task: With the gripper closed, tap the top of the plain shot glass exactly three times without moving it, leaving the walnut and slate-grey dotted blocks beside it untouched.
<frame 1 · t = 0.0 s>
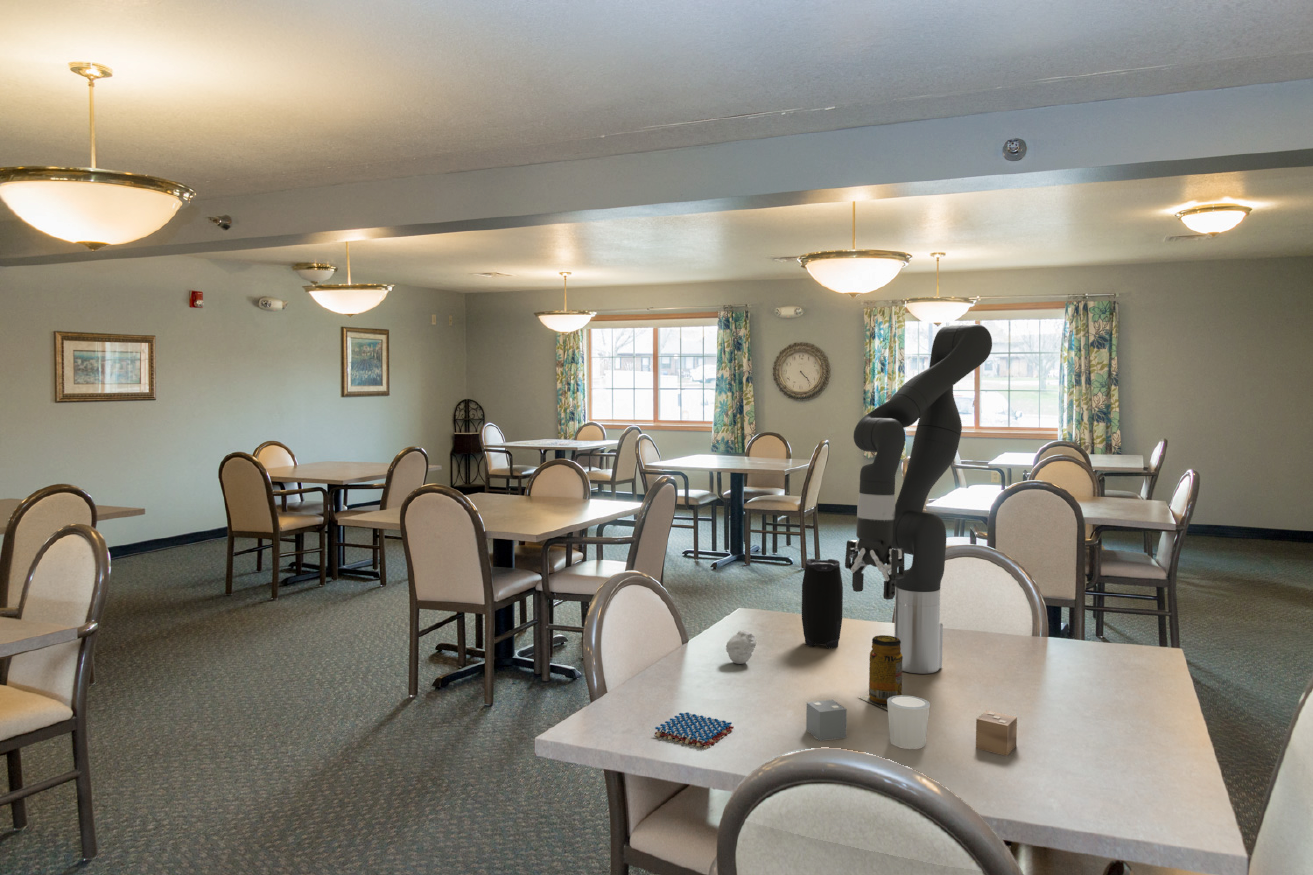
hand: (872, 595, 184), 17 cm above the table, tool pointing down, fingers open, 8 cm apart
portable speaker: (821, 645, 209), on the table
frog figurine: (740, 664, 194), on the table
walnut dotted block: (996, 747, 148), on the table
condiment: (887, 703, 170), on the table
woven mat: (694, 737, 154), on the table
shot glass: (907, 743, 150), on the table
slate dotted block: (826, 734, 154), on the table
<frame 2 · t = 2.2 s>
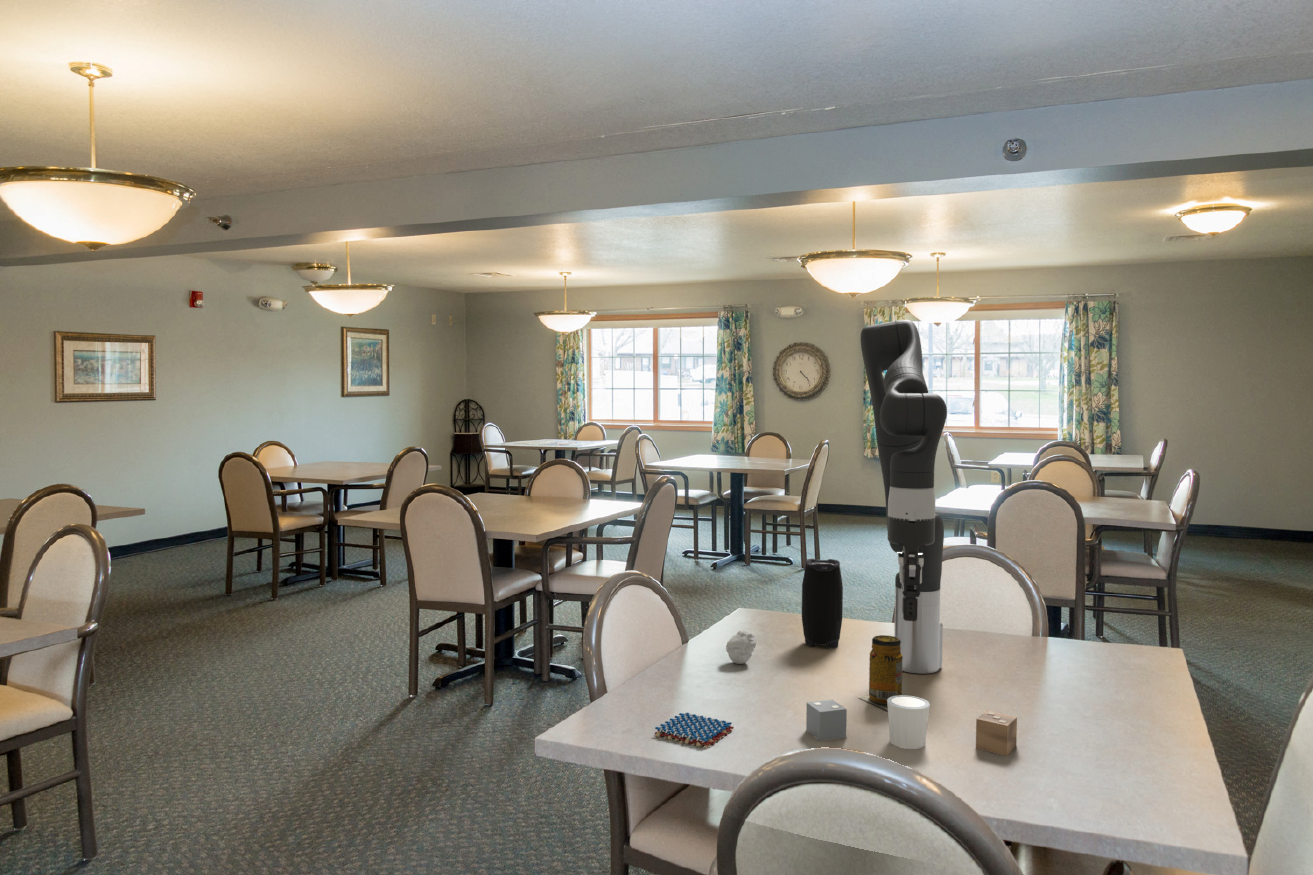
hand: (909, 617, 149), 21 cm above the table, tool pointing down, fingers open, 3 cm apart
nothing on the table moved.
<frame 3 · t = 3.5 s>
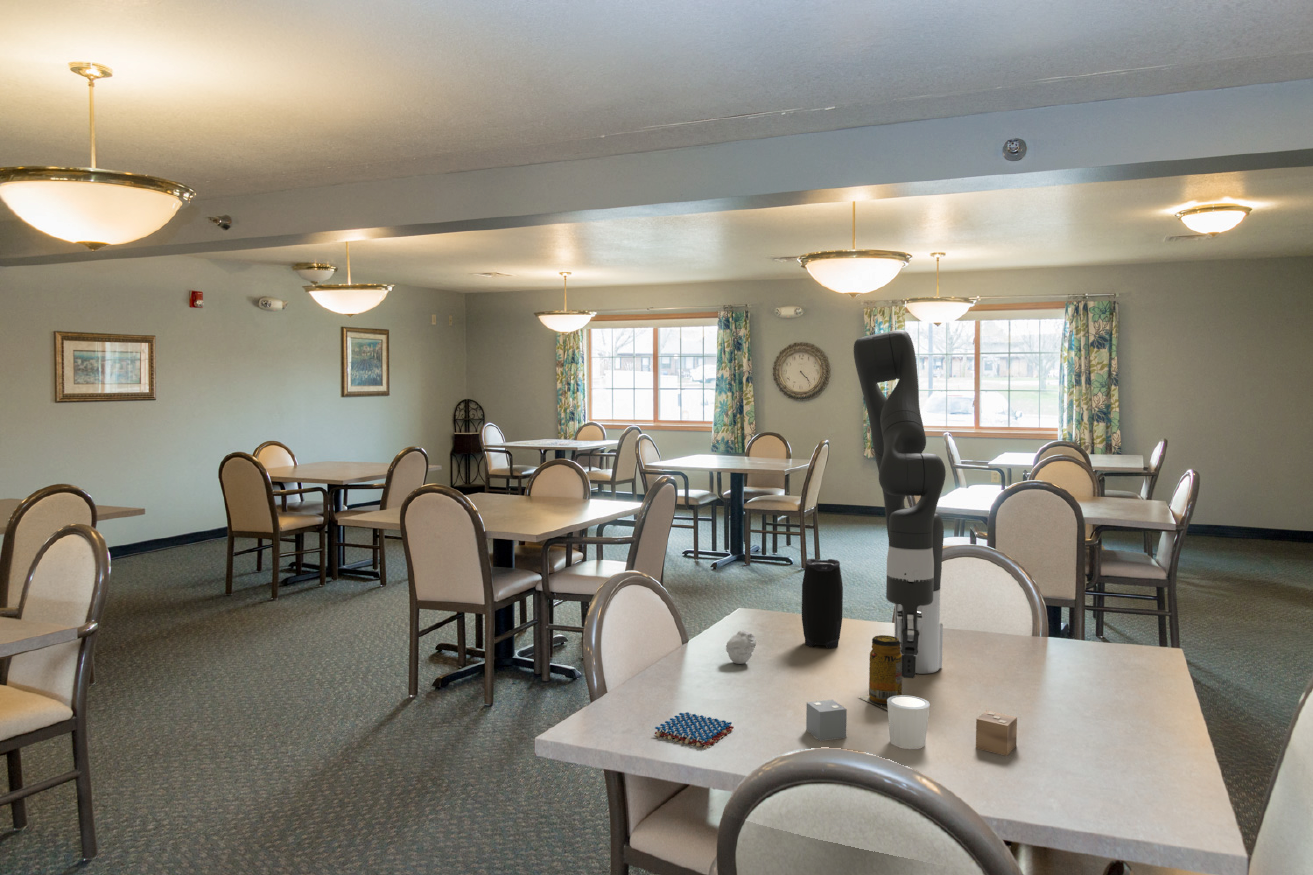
hand: (908, 676, 150), 11 cm above the table, tool pointing down, fingers closed
nothing on the table moved.
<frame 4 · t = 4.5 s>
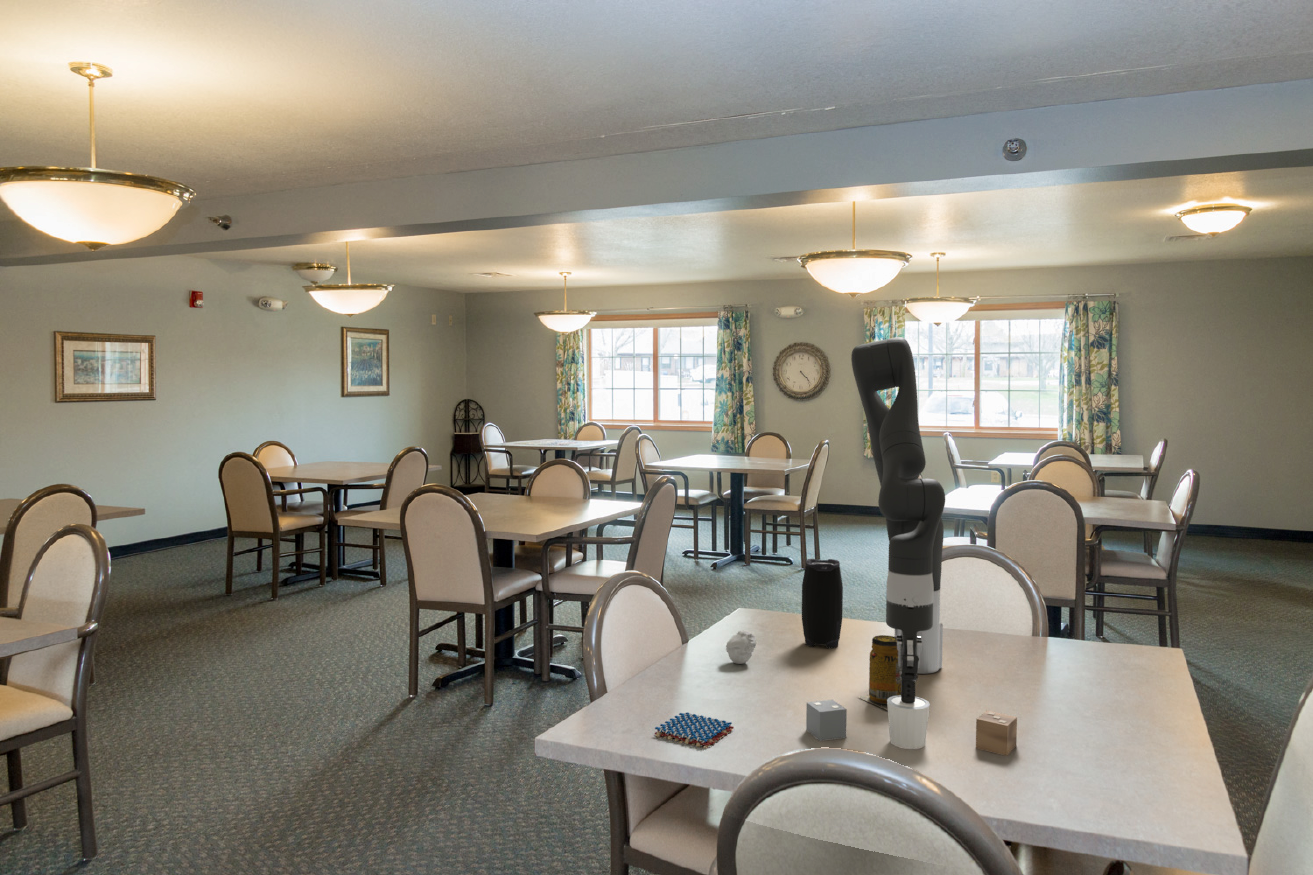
hand: (907, 701, 150), 7 cm above the table, tool pointing down, fingers closed
shot glass: (907, 743, 150), on the table, touching gripper
everything else where it was.
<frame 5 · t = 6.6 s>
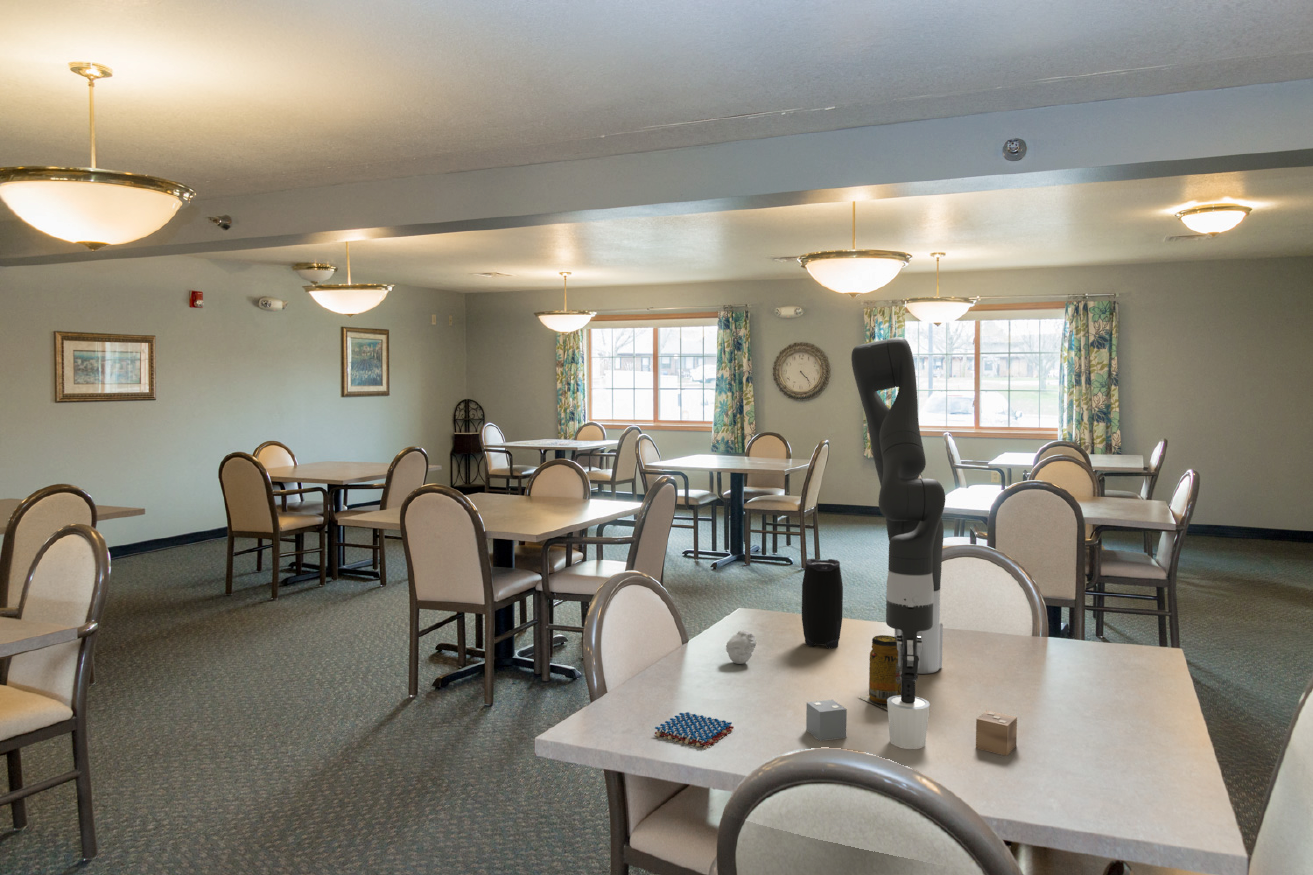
hand: (907, 701, 150), 7 cm above the table, tool pointing down, fingers closed
nothing on the table moved.
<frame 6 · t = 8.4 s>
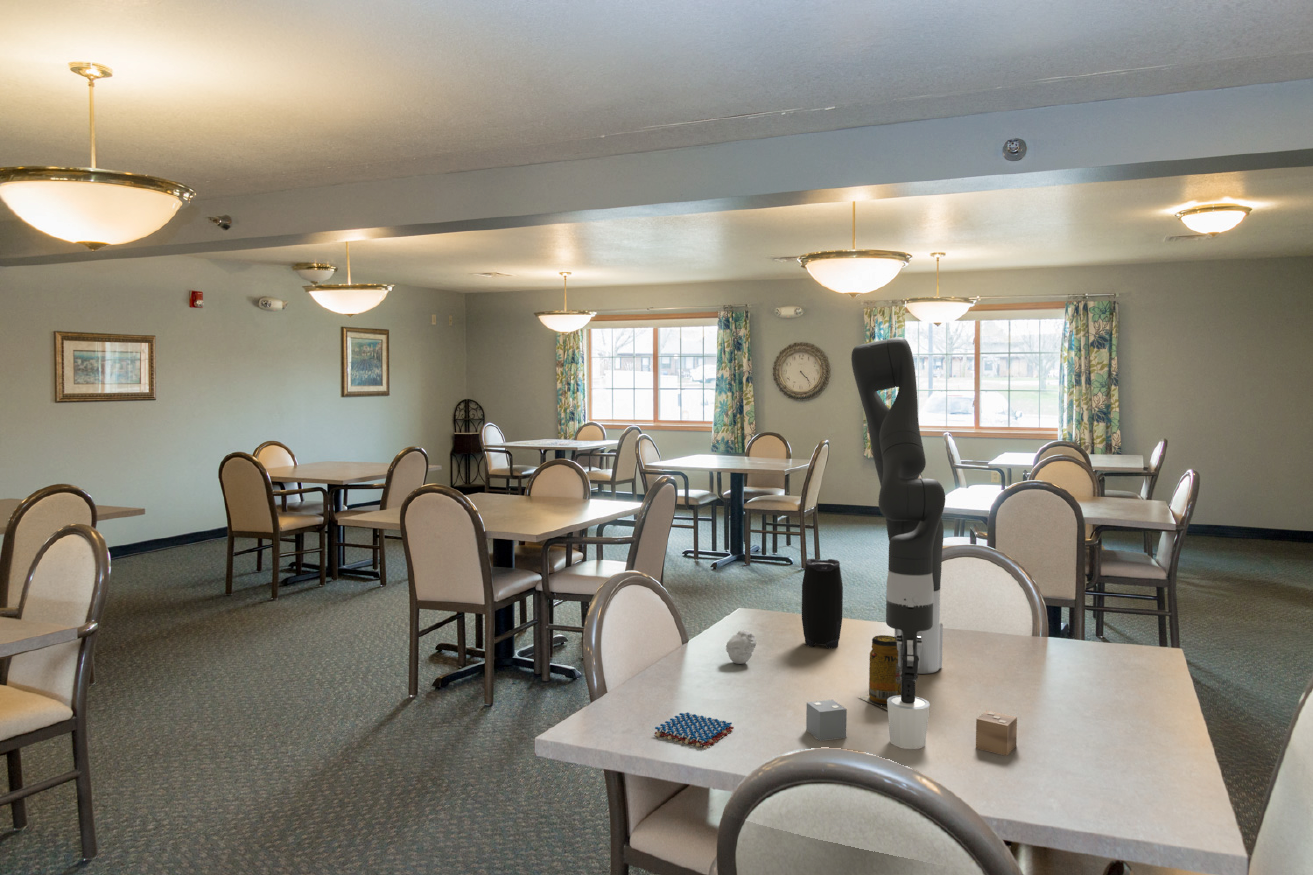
hand: (907, 701, 150), 7 cm above the table, tool pointing down, fingers closed
nothing on the table moved.
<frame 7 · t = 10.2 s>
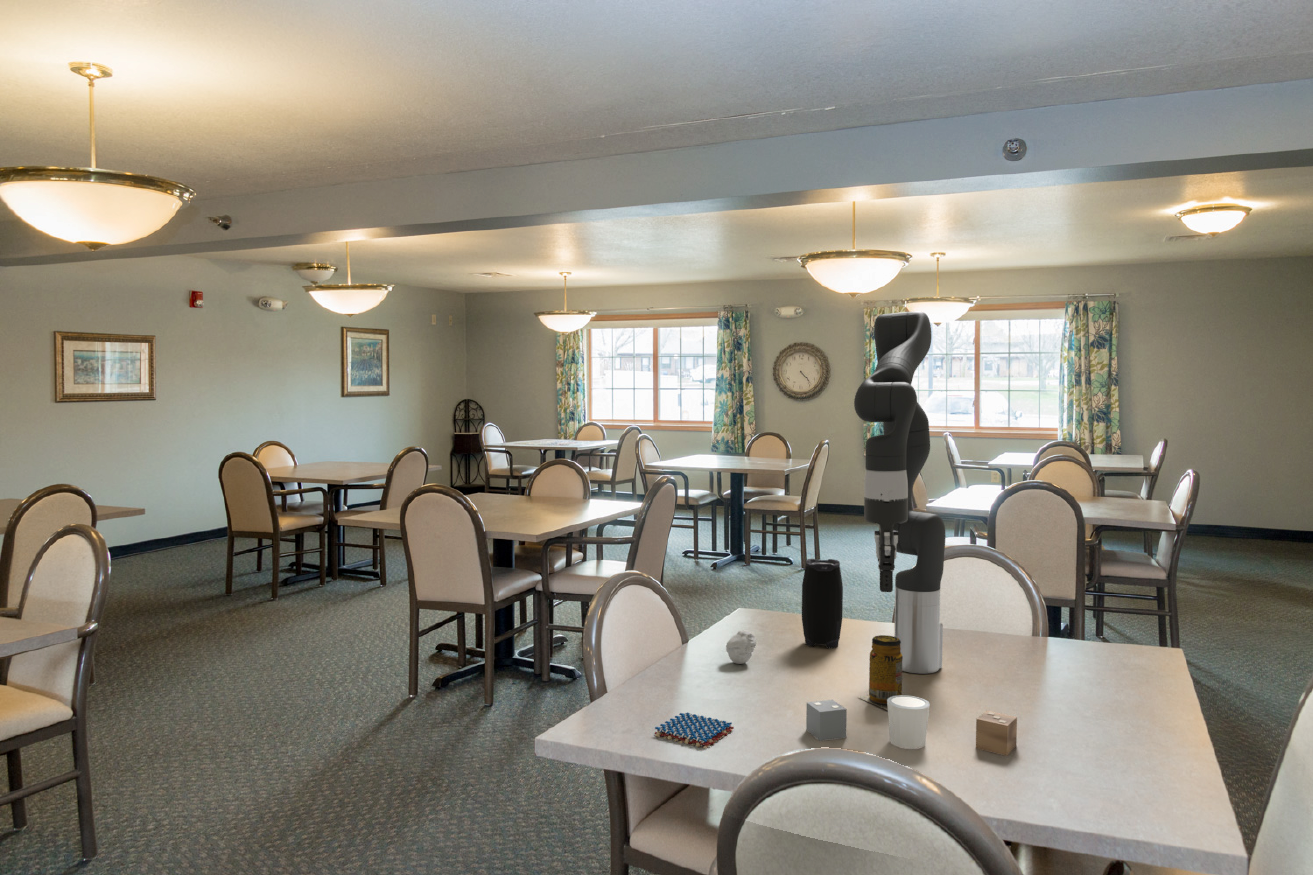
hand: (886, 590, 161), 23 cm above the table, tool pointing down, fingers closed
shot glass: (907, 743, 150), on the table
everything else where it was.
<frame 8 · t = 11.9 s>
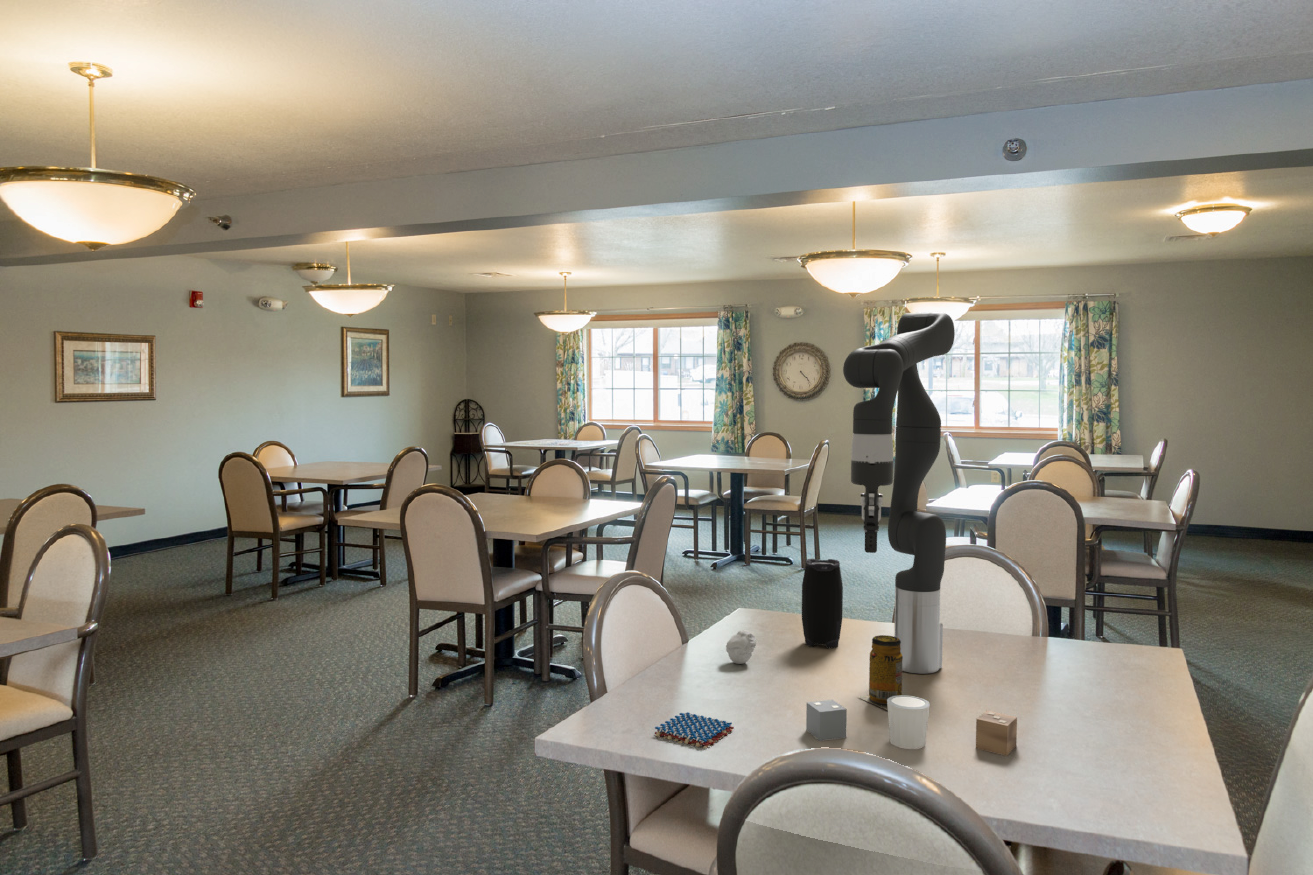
hand: (870, 551, 166), 29 cm above the table, tool pointing down, fingers closed
nothing on the table moved.
at the end: shot glass moved 0.2 cm from its start; shot glass tilted 0°; walnut dotted block moved 0.1 cm from its start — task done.
